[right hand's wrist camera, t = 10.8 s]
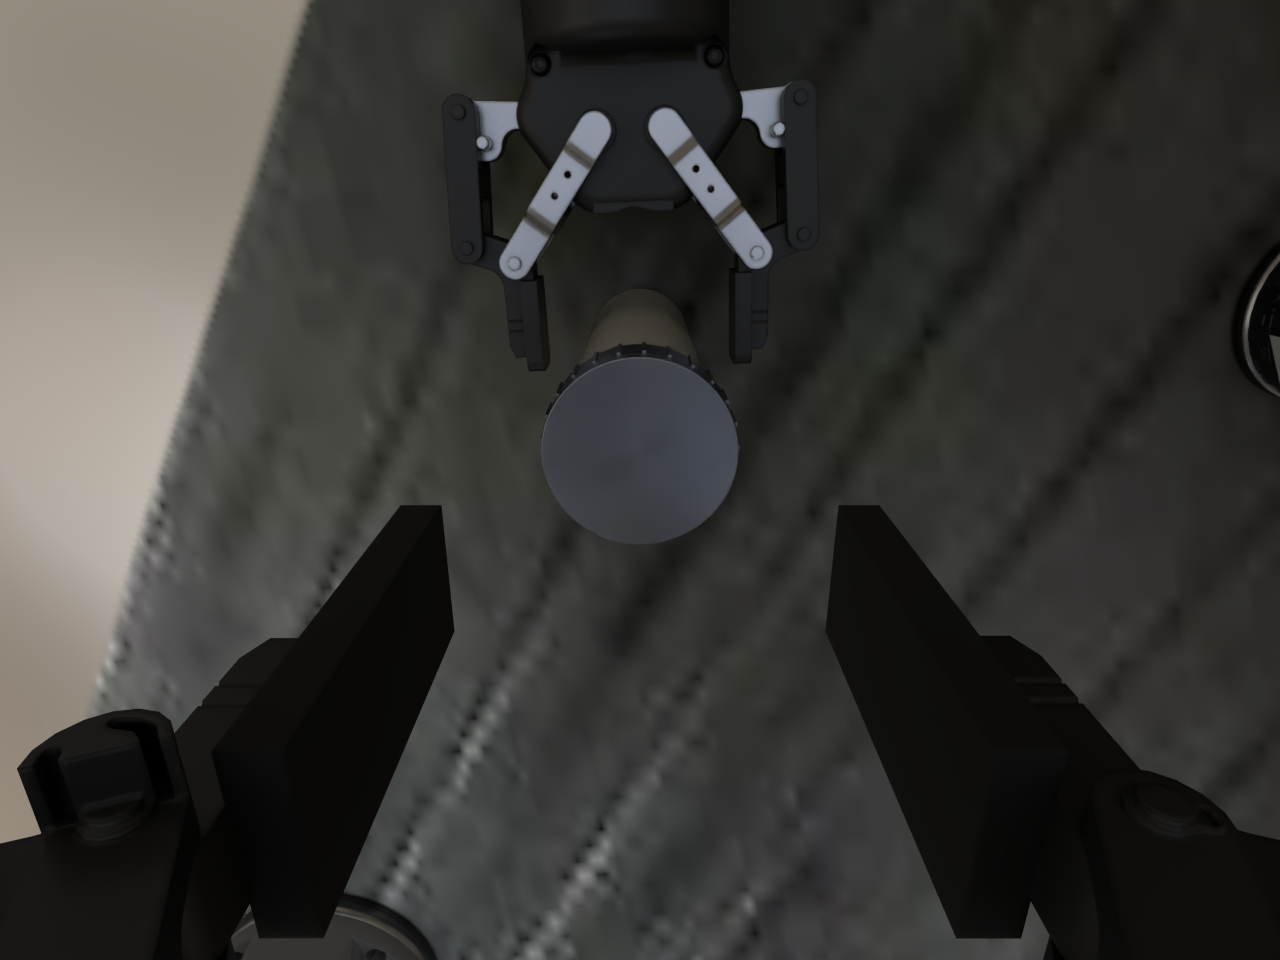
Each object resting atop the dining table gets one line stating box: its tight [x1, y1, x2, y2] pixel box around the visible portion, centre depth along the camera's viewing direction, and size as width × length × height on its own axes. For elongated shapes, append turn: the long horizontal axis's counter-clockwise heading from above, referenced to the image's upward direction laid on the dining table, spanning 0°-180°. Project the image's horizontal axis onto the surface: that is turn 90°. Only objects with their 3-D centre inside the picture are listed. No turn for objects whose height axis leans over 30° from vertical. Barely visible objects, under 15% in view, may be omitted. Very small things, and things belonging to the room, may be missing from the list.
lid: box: [540, 342, 740, 544], centre depth 21 cm, size 6×6×2 cm
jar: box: [579, 289, 701, 366], centre depth 29 cm, size 5×5×18 cm
